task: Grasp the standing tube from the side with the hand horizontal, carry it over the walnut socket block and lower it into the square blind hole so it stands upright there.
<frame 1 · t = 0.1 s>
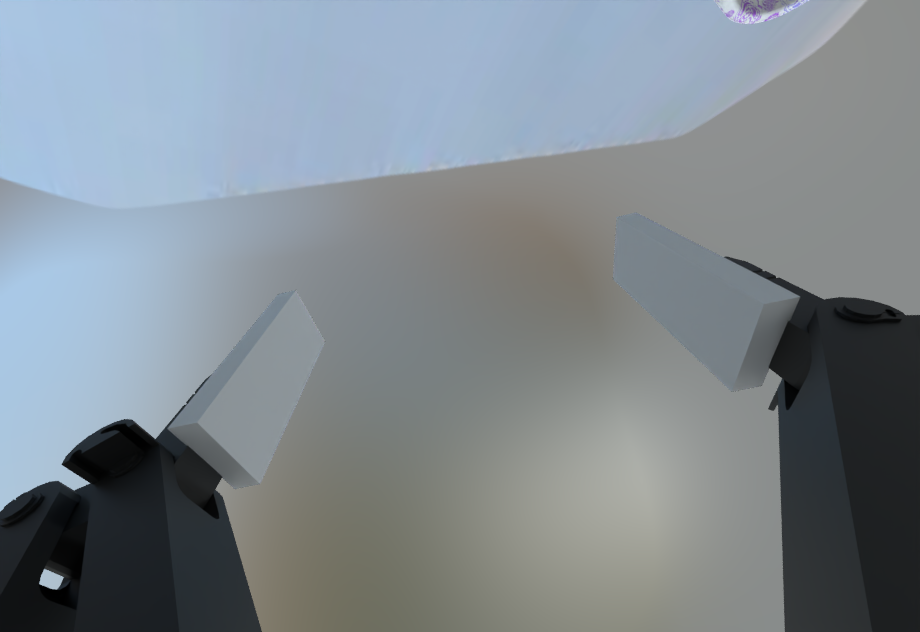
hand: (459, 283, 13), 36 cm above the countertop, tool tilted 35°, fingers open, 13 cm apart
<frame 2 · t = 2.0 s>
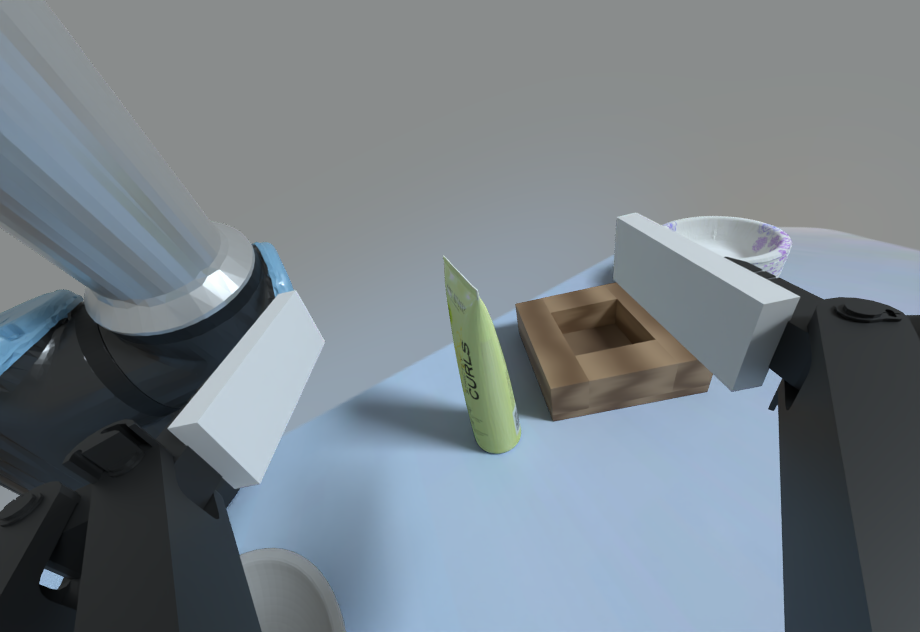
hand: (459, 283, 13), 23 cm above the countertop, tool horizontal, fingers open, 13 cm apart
paper bowls: (702, 286, 48), on the countertop
socket block: (596, 356, 40), on the countertop
tube: (497, 433, 34), on the countertop
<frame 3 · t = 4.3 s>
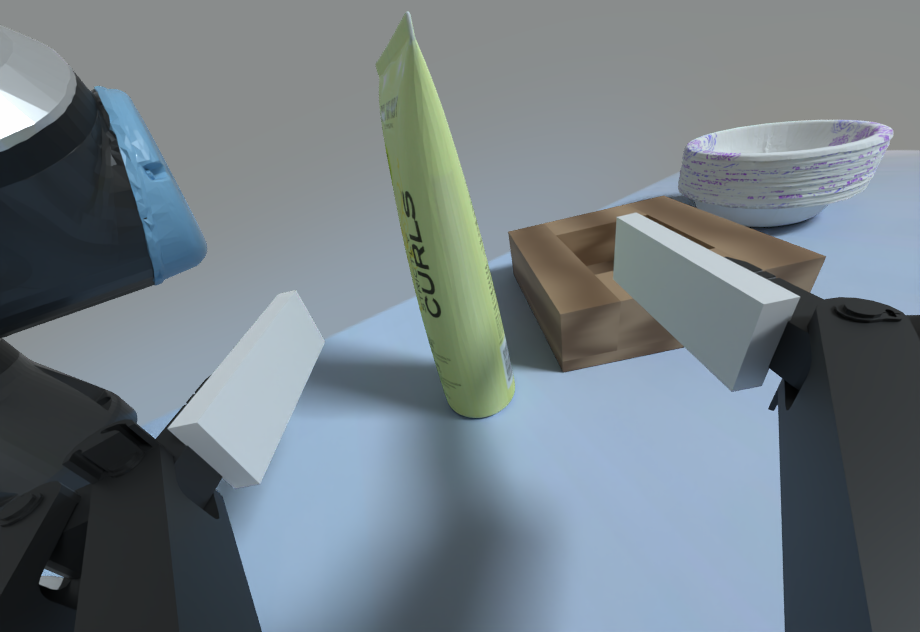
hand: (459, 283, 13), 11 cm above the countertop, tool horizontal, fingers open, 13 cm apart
paper bowls: (752, 214, 37), on the countertop
socket block: (620, 293, 29), on the countertop
tube: (480, 391, 23), on the countertop
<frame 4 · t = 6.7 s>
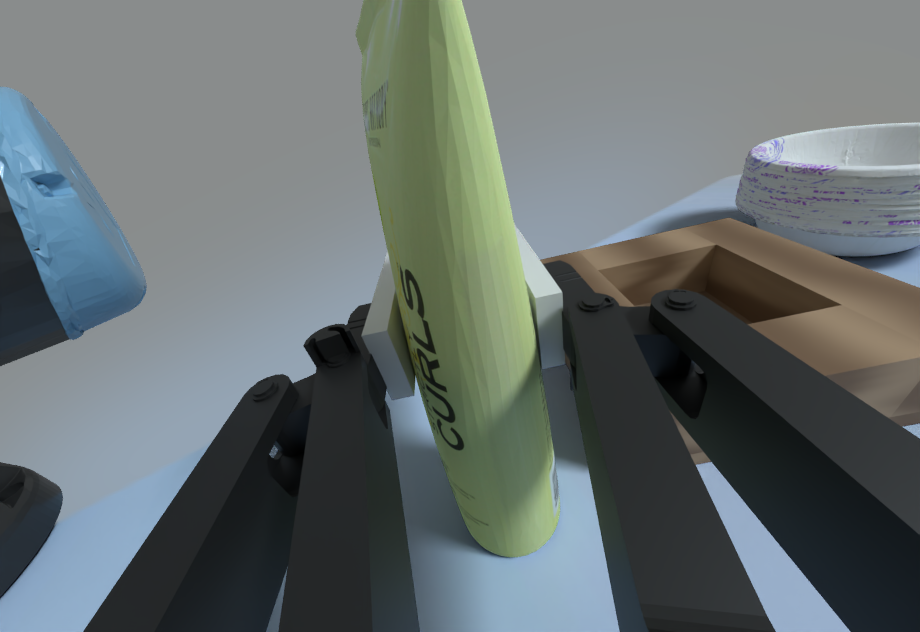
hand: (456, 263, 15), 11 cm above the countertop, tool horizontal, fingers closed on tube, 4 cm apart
paper bowls: (830, 237, 30), on the countertop
socket block: (683, 346, 23), on the countertop
tube: (508, 500, 17), on the countertop, touching gripper
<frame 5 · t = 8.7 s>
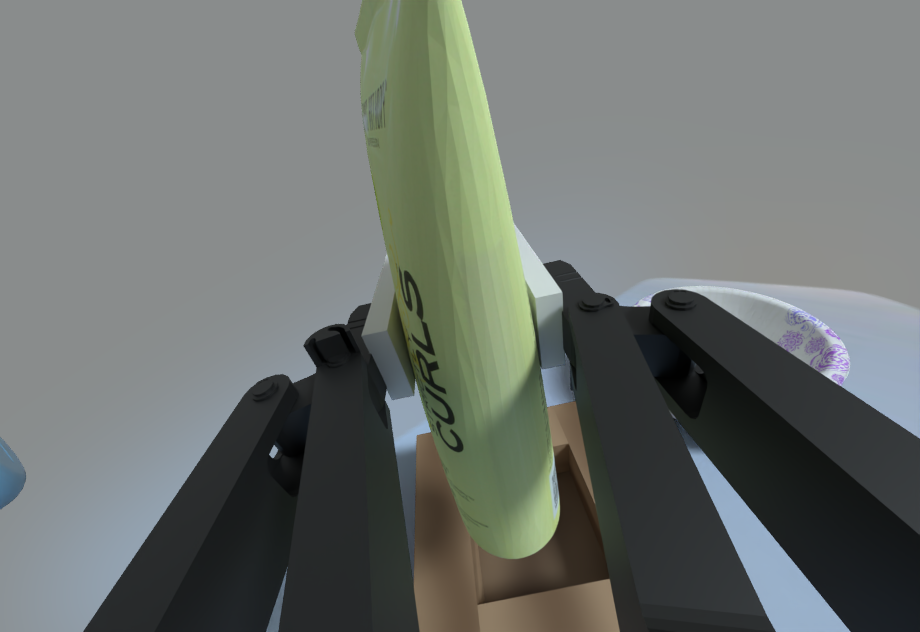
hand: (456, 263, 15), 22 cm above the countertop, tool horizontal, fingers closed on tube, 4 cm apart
paper bowls: (702, 392, 32), on the countertop
socket block: (535, 543, 24), on the countertop
tube: (508, 502, 17), point 11 cm above the countertop, touching gripper
when the fingers open (13 cm above the countertop, at t = 11.1 s): tube drops 1 cm, resting on socket block.
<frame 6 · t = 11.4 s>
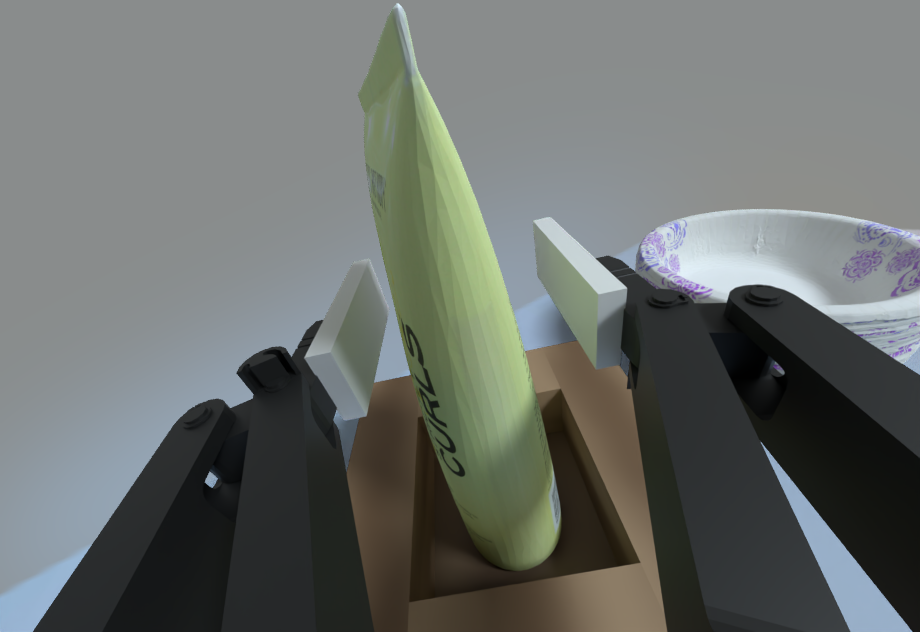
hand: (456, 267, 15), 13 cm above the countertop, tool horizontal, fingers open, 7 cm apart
paper bowls: (737, 341, 25), on the countertop
socket block: (513, 521, 18), on the countertop
tube: (512, 514, 17), point 1 cm above the countertop, touching socket block
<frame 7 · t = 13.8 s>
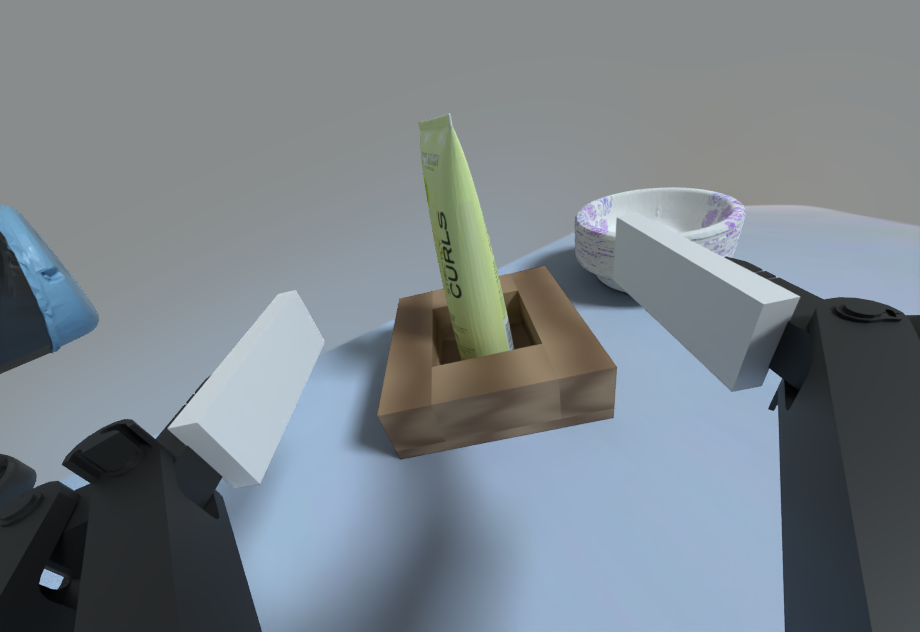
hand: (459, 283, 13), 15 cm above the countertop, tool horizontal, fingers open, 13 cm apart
paper bowls: (644, 276, 38), on the countertop
socket block: (489, 366, 31), on the countertop
tube: (488, 359, 30), point 1 cm above the countertop, touching socket block
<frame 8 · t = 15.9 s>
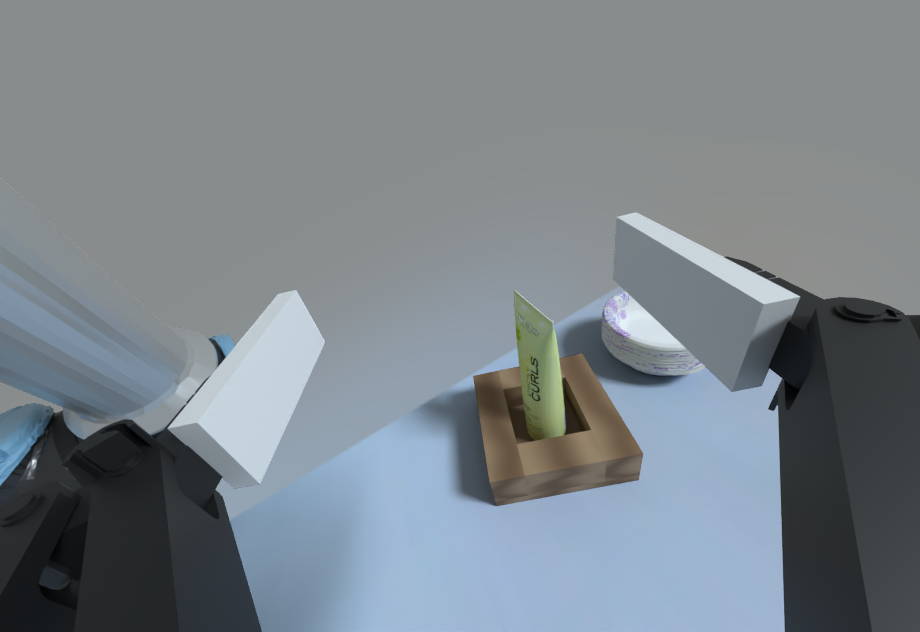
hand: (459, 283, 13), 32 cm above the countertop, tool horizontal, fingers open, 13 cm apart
paper bowls: (653, 354, 50), on the countertop
socket block: (545, 432, 43), on the countertop
tube: (545, 428, 42), point 1 cm above the countertop, touching socket block
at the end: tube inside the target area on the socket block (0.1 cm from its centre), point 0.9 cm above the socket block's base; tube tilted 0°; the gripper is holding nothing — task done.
